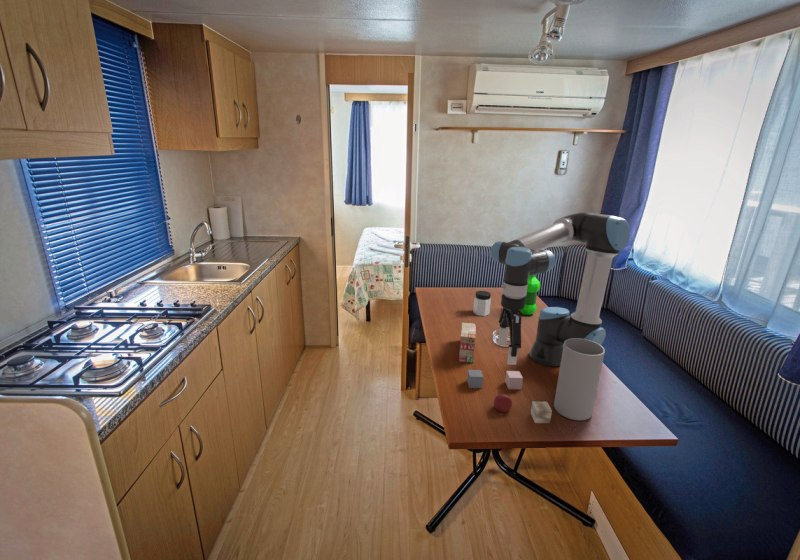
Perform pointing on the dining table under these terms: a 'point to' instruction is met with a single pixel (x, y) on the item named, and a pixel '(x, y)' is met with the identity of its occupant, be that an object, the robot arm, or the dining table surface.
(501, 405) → the fruit
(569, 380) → the cylinder vase
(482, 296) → the jar
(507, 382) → the dusty rose block
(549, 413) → the birch block
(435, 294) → the dining table surface
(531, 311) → the plastic bottle
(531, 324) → the dining table surface
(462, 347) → the stack of blocks
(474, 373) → the slate grey block
